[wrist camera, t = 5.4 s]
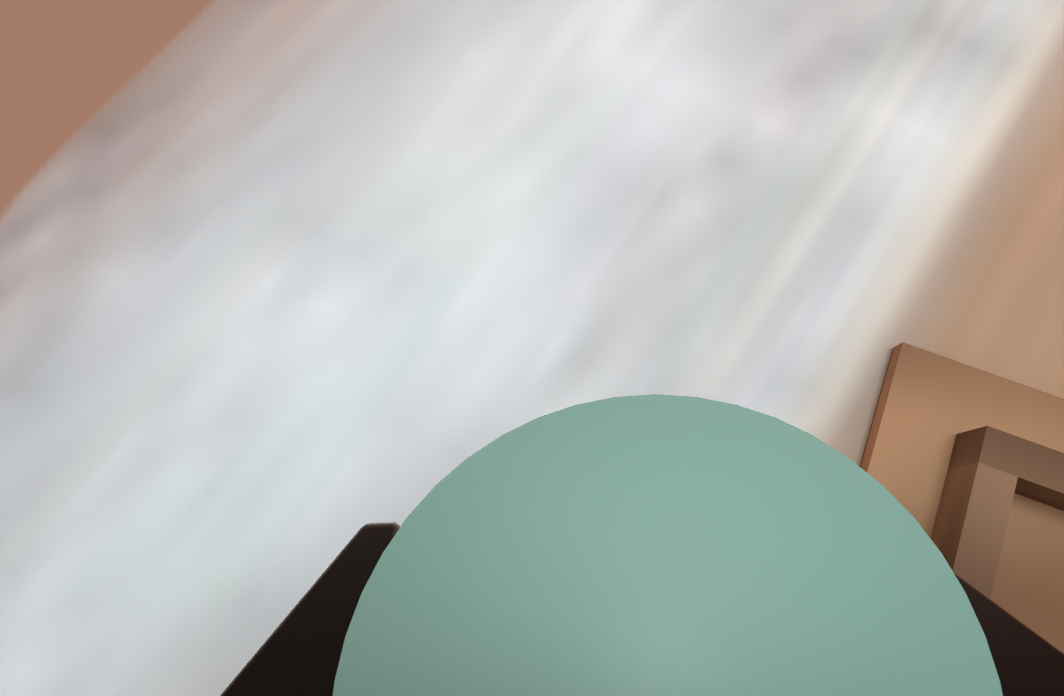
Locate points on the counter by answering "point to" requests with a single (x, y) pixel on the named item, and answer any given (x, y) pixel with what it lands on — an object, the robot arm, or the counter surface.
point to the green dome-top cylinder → (662, 570)
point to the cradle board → (978, 478)
